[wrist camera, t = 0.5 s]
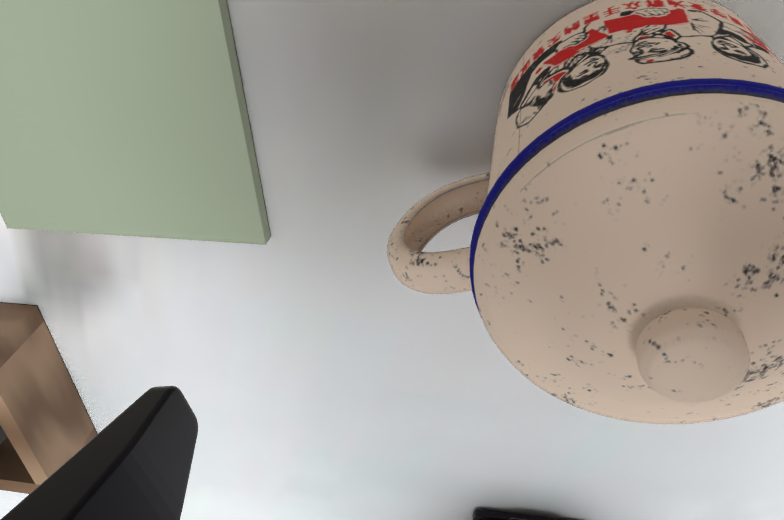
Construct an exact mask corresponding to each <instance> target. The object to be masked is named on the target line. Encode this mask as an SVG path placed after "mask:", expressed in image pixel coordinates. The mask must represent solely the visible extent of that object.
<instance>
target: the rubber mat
mask: <svg viewBox="0 0 784 520" xmlns="http://www.w3.org/2000/svg"><path fill="white" fill-rule="evenodd" d="M0 213H1V216H2V218H3V220H4V222H5V224H6V226H7V228H13V229H29V230H45V231H61V232H76V233H92V234H108V235H124V236H139V237H155V238H171V239H187V240H203V241H218V242H234V243H250V244H266V243H267V242H268V240H269V238H270V237H271V236H270V230H269V225H268V220H267V215H266V209H265V204H264V199H263V193H262V188H261V183H260V177H259V172H258V167H257V161H256V156H255V151H254V146H253V140H252V135H251V130H250V124H249V119H248V114H247V108H246V103H245V98H244V92H243V87H242V82H241V76H240V71H239V66H238V61H237V55H236V50H235V45H234V39H233V34H232V29H231V23H230V18H229V13H228V7H227V2H226V0H0Z"/></svg>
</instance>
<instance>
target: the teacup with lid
mask: <svg viewBox="0 0 784 520" xmlns="http://www.w3.org/2000/svg"><path fill="white" fill-rule="evenodd" d="M478 213H479V215H478V218H477V221H476V224H475V227H474V231H473V236H472V241H471V247H467V248H462V249H456V250H451V251H444V252H434V253H427V252H421V251H422V250H423V248H424V247H425V246H426V244H427V243H428V242H429V241H430V240H431V239H432V238H433V237H434V236H435V235H436V234H437V233H439V232H440V231H441V230H443V229H444V228H446V227H447V226H449V225H450V224H452V223H454V222H456V221H458V220H460V219H463V218H465V217H468V216H471V215H474V214H478ZM387 255H388V259H389V262H390V265H391V267H392V270H393V272H394V274H395V276H396V277H397V279H398V280H399V281H400V282H401V283H402V284H404V285H406V286H407V287H409V288H411V289H413V290H416V291H419V292H423V293H430V294H448V293H457V292H464V291H470V290H472V292H473V295H474V299H475V303H476V306H477V308H478V311H479V313H480V315H481V318H482V320H483V322H484V325H485V327H486V329H487V331H488V332H489V334H490V336H491V338H492V340H493V341H494V342H495V344H496V345H497V347H498V348H499V350H500V351H501V352H502V353H503V354H504V356H505V357H506V358H507V359H508V360H509V361H510V363H511V364H512V365H513V366H514V367H515V368H516V369H518V370H519V371H520V372H521V373H522V374H523V375H524V376H525V377H526V378H528V379H529V380H530V381H531V382H533V383H534V384H535V385H537V386H538V387H540V388H541V389H543V390H544V391H546V392H547V393H549V394H551V395H553V396H555V397H557V398H558V399H560V400H562V401H565V402H567V403H569V404H571V405H573V406H576V407H578V408H581V409H584V410H587V411H589V412H592V413H596V414H599V415H603V416H607V417H611V418H616V419H621V420H626V421H633V422H640V423H653V424H686V423H699V422H708V421H714V420H720V419H726V418H731V417H735V416H739V415H743V414H747V413H750V412H754V411H757V410H760V409H763V408H766V407H769V406H771V405H774V404H777V403H779V402H782V401H784V64H783V63H782V62H781V61H780V60H779V59H778V58H777V57H776V55H775V54H774V53H773V52H772V51H771V50H770V49H769V48H768V46H767V45H766V44H765V43H764V42H763V41H762V40H761V39H760V37H759V36H758V35H757V34H756V33H755V32H754V31H753V30H752V28H751V27H750V26H749V25H748V24H747V23H746V22H744V21H743V20H742V19H741V18H740V17H739V16H737V15H736V14H734V13H733V12H731V11H730V10H728V9H727V8H725V7H723V6H721V5H719V4H717V3H716V2H713V1H711V0H596V1H593V2H591V3H589V4H587V5H584V6H582V7H580V8H578V9H577V10H575V11H573V12H571V13H569V14H568V15H566V16H565V17H563V18H562V19H560V20H559V21H557V22H556V23H555V24H553V25H552V26H551V27H550V28H548V29H547V30H546V31H545V32H544V33H543V34H542V35H541V36H540V37H539V38H538V39H536V40H535V41H534V42H533V44H532V45H531V46H530V47H529V48H528V50H527V51H526V52H525V53H524V55H523V56H522V58H521V59H520V60H519V62H518V63H517V65H516V67H515V68H514V70H513V72H512V74H511V76H510V78H509V80H508V82H507V84H506V87H505V89H504V92H503V95H502V98H501V101H500V106H499V111H498V117H497V125H496V133H495V141H494V148H493V156H492V164H491V172H489V173H485V174H481V175H477V176H473V177H469V178H466V179H463V180H460V181H457V182H454V183H451V184H449V185H446V186H444V187H442V188H440V189H438V190H436V191H434V192H433V193H431V194H429V195H428V196H426V197H425V198H423V199H422V200H421V201H419V202H418V203H417V204H415V205H414V206H413V207H412V208H411V209H410V210H409V211H408V212H407V213H406V214H405V215H404V216H403V217H402V218H401V219H400V221H399V222H398V223H397V225H396V226H395V228H394V229H393V231H392V233H391V235H390V238H389V241H388V246H387Z"/></svg>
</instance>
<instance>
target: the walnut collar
mask: <svg viewBox="0 0 784 520" xmlns="http://www.w3.org/2000/svg"><path fill="white" fill-rule="evenodd" d="M0 425H1V427H2V428H3V430H4V432H5V433H6V435H7V437H6V439H5V440H4V441H3V442H2V443H1V445H0V490H6V491H13V492H20V493H27V494H30V493H32V492H33V491H34V490H35V489H36V488H37V487H38V486H40V485H41V484H42V483H43V482H44V481H45V480H46V479H48V478H49V477H50V476H51V475H52V474H53V473H54V472H55V471H57V470H58V469H59V468H60V467H61V466H62V465H63V464H65V463H66V462H67V461H68V460H69V459H70V458H71V457H73V456H74V455H75V454H76V453H77V452H78V451H79V450H81V449H82V448H83V447H84V446H85V445H86V444H87V443H88V442H90V441H91V440H92V439H93V438H94V437H95V436H96V435H97V433H96V430H95V428H94V426H93V424H92V422H91V420H90V418H89V415H88V413H87V411H86V409H85V407H84V405H83V403H82V401H81V398H80V396H79V394H78V392H77V390H76V388H75V386H74V384H73V381H72V379H71V377H70V375H69V373H68V371H67V369H66V367H65V364H64V362H63V360H62V358H61V356H60V354H59V352H58V350H57V347H56V345H55V343H54V341H53V339H52V337H51V335H50V333H49V330H48V328H47V326H46V324H45V322H44V320H43V318H42V316H41V313H40V311H39V309H38V307H37V306H34V305H22V304H11V303H0Z"/></svg>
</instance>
